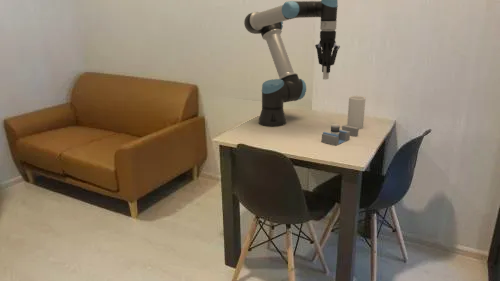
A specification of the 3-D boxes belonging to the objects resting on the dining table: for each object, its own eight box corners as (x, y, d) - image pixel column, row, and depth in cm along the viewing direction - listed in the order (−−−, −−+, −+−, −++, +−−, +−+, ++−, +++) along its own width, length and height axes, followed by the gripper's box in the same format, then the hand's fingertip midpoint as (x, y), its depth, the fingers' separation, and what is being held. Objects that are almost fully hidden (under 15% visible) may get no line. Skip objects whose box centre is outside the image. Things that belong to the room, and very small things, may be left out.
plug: (328, 140, 190) (329, 124, 188) (333, 138, 193) (334, 122, 190) (335, 142, 187) (336, 126, 185) (340, 140, 190) (341, 124, 188)
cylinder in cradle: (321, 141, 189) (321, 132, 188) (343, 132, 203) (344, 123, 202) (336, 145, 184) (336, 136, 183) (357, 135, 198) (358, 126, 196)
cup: (363, 129, 208) (366, 99, 203) (347, 128, 210) (349, 98, 205) (362, 125, 216) (364, 95, 211) (346, 124, 217) (348, 95, 212)
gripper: (312, 30, 195) (310, 78, 202) (335, 31, 186) (332, 81, 194) (321, 29, 200) (319, 76, 207) (344, 30, 191) (341, 79, 199)
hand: (325, 79), depth 201 cm, fingers closed
